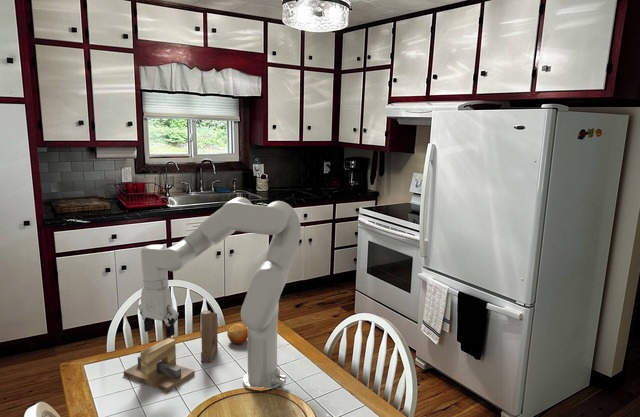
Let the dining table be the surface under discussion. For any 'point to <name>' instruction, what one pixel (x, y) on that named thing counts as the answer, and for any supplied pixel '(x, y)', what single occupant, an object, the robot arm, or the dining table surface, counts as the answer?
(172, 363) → the wooden bridge block
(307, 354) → the dining table surface
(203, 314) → the wooden block
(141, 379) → the rib board
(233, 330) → the fruit
